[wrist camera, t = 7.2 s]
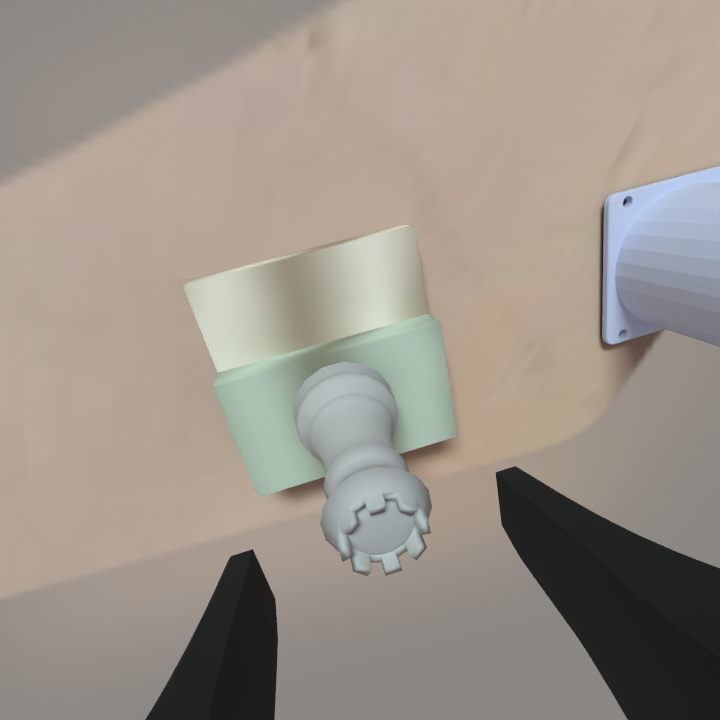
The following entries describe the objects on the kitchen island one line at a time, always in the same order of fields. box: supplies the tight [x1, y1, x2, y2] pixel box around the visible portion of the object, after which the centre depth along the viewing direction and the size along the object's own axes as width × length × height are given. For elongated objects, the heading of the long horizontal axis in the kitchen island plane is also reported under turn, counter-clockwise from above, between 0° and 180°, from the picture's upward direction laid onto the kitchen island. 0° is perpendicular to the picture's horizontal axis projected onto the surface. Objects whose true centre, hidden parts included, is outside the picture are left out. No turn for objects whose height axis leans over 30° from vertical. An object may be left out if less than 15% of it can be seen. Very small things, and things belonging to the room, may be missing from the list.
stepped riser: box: [183, 225, 458, 497], centre depth 19 cm, size 10×10×3 cm
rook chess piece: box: [293, 362, 432, 576], centre depth 14 cm, size 4×4×8 cm
